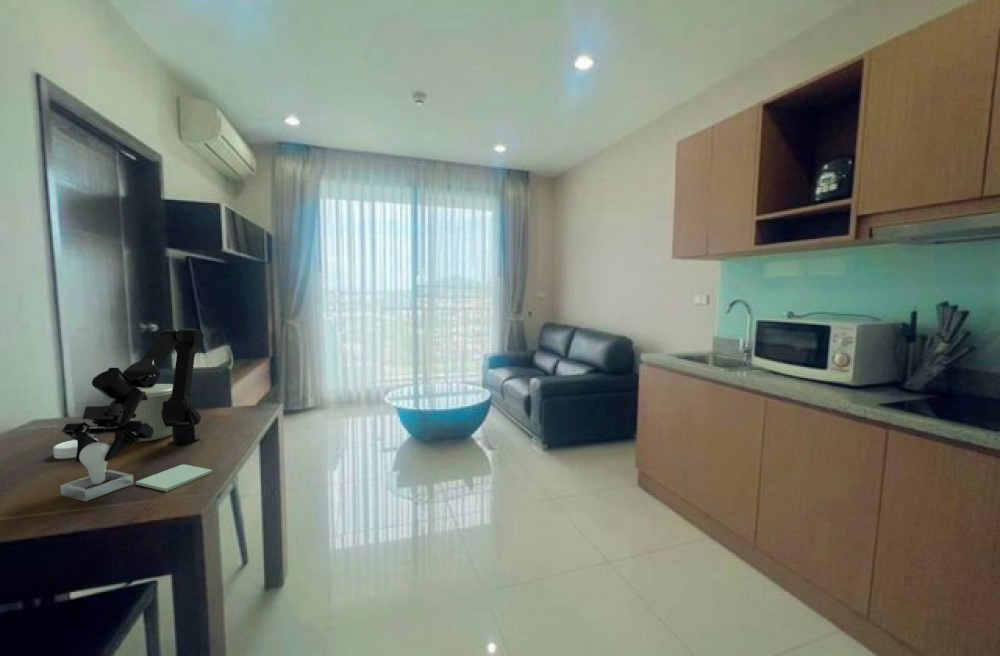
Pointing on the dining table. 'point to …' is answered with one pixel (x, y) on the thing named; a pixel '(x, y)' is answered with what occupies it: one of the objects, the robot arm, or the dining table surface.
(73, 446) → the white round disc
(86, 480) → the grey square frame
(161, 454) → the dining table surface
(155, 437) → the canister
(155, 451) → the dining table surface
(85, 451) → the lightbulb
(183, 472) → the green mat
